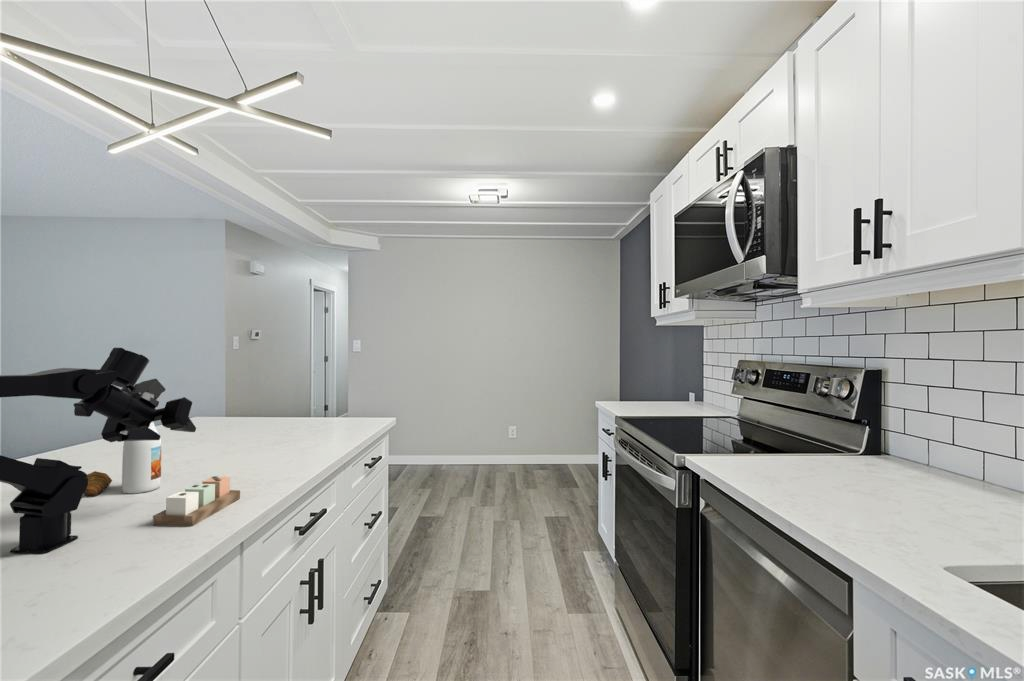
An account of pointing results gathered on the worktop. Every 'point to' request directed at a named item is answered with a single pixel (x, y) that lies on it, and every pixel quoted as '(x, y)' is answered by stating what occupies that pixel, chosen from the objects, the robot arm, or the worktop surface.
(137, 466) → the milk bottle
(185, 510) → the key one
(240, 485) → the worktop surface
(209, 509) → the board
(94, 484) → the croissant
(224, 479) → the key three
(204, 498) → the key two
